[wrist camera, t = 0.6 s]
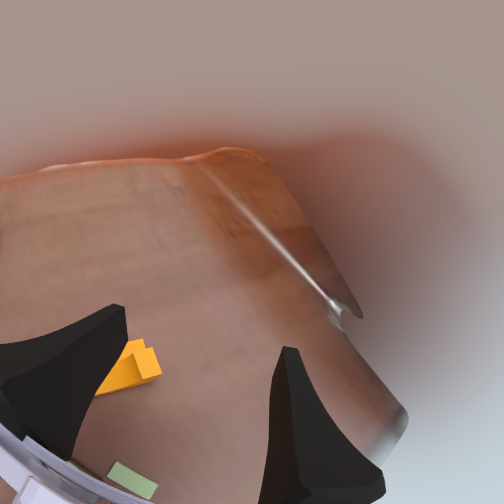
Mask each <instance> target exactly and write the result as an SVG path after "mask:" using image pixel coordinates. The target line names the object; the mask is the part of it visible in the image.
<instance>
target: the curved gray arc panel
mask: <svg viewBox="0 0 504 504" xmlns="http://www.w3.org/2000/svg"><path fill="white" fill-rule="evenodd" d="M66 462H67V463H68V464H70V465H72V466H73V467H75V468H77V469H78V470H80V471H82V472H84V473H86V474H88V475H89V476H91V477H93V478H95V479H97V480H99V481H101V482H104V481H103V480H102V479H100V478H99V477H97V476H96V475H94V474H92V473H91V472H90V471H88V470H87V469H85V468H84V467H82V466H81V465H79V464H78V463H77V462H75V461H74V460H73V459H71V460H70V461H66ZM47 468H48V470H49V471H50V472H52V473H53V474H54V475H56V476H57V477H59V478H60V479H62V480H63V481H64V482H65V483H66V484H67V485H68V486H70V487H71V488H73V489H74V490H75V491H77V492H78V493H80V495H81V496H80V498H79V501H81V502H83V503H85V504H95V503H96V502H97V500H98V499H99V497H98V496H96V495H94V494H92V493H90V492H88V491H86V490H85V489H83V488H81V487H79V486H77V485H76V484H74V483H72V482H71V481H69V480H67V479H66V478H64V477H62V476H61V475H59V474H58V473H56V472H55V471H53V470H52V469H50V468H49V467H47Z"/></svg>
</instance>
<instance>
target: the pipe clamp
mask: <svg viewBox="0 0 504 504" xmlns="http://www.w3.org/2000/svg"><path fill="white" fill-rule="evenodd" d="M161 374H162V371H161V369H160V366H159V364H158V361H157V359H156V356H155V353H154V351H153V348H152V347H151V348H147V349H146V347H145V345H144V342H143V339H138V340H134V341H130V342H127V344H126V346H125V348H124V350H123V352H122V354H121V356H120V358H119V359H118V361H117V362H116V364H115V365H114V367H113V368H112V370H111V371H110V372H109V374H108V375H107V377H106V378H105V380H104V381H103V383H102V384H101V386H100V387H99V389H98V390H97V392H96V394H95V395H94V396H99V395H103V394H107V393H111V392H115V391H119V390H123V389H126V388H130V387H134V386H137V385H141V384H144V383H148V382H151V381H153V380H155V379H156V378H157V377H159V376H160V375H161Z"/></svg>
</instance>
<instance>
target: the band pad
mask: <svg viewBox="0 0 504 504" xmlns="http://www.w3.org/2000/svg"><path fill="white" fill-rule="evenodd" d="M107 477H108V478H110V479H111V480H113V481H115V482H116V483H118V484H120V485H122V486H123V487H125V488H127V489H129V490H131V491H132V492H134V493H136V494H138V495H140V496H142V497H144V498H146V499H148V500H149V499H150V498H151V496H152V495H153V493H154V491H155V490H156V488H157V487H158V484H157V483H155V482H153V481H151V480H149V479H147V478H146V477H144V476H142V475H140V474H138V473H136V472H135V471H133V470H131V469H130V468H128V467H126V466H125V465H123V464H121V463H120V462H118V461H116V462H115V464H114V465H113V467H112V469H111V470H110V472H109V473H108V475H107Z"/></svg>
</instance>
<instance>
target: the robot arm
mask: <svg viewBox="0 0 504 504" xmlns="http://www.w3.org/2000/svg"><path fill="white" fill-rule="evenodd" d="M127 342H128V334H127V326H126V317H125V307H123V306H120V305H117V304H111V305H109V306H107V307H105V308H103V309H101V310H99V311H97V312H95V313H93V314H91V315H89V316H87V317H85V318H83V319H81V320H79V321H77V322H75V323H73V324H71V325H69V326H66V327H64V328H62V329H60V330H57V331H55V332H52V333H49V334H47V335H44V336H41V337H37V338H33V339H29V340H25V341H21V342H15V343H8V344H0V476H1V477H2V478H3V479H4V480H5V481H6V482H7V483H8V484H9V485H10V486H12V487H13V488H14V489H15V490H16V491H17V494H16V496H15V498H14V500H13V502H12V504H85V503H83V502H81V501H79V498H80V496H81V495H80V493H78V492H77V491H75V490H74V489H73V488H71V487H70V486H68V485H67V484H66V483H65V482H64V481H63V480H62V479H60V478H59V477H57V476H56V475H54V474H53V473H52V472H50V471H49V470H48V468H47V467H49V468H50V469H52V470H53V471H55V472H56V473H58V474H59V475H61V476H62V477H64V478H66V479H67V480H69V481H71V482H72V483H74V484H76V485H77V486H79V487H81V488H83V489H85V490H86V491H88V492H90V493H92V494H94V495H96V496H98V497H100V498H102V499H104V500H106V501H108V502H110V503H113V504H154V503H151V502H149V501H146V500H143V499H140V498H138V497H135V496H133V495H130V494H128V493H125V492H123V491H121V490H118V489H116V488H114V487H112V486H110V485H107V484H105V483H103V482H101V481H99V480H97V479H95V478H93V477H91V476H89V475H88V474H86V473H84V472H82V471H80V470H78V469H77V468H75V467H73V466H72V465H70V464H68V463H67V462H66V461H70V460H71V456H72V452H73V448H74V445H75V441H76V438H77V435H78V432H79V429H80V427H81V424H82V422H83V419H84V417H85V414H86V412H87V410H88V408H89V406H90V404H91V401H92V399H93V397H94V395H95V394H96V392H97V390H98V389H99V387H100V386H101V384H102V383H103V381H104V380H105V378H106V377H107V375H108V374H109V372H110V371H111V370H112V368H113V367H114V365H115V364H116V362H117V361H118V359H119V358H120V356H121V354H122V352H123V350H124V348H125V346H126V344H127ZM385 493H386V488H385V480H384V477H383V473H382V470H380V469H379V468H378V467H377V466H375V465H374V464H373V463H372V462H370V461H369V460H368V459H367V458H366V457H365V456H363V455H362V454H361V453H360V452H359V451H358V450H357V449H356V448H355V447H354V446H353V445H352V443H351V442H350V441H349V440H348V439H347V438H346V437H345V435H344V434H343V433H342V432H341V431H340V429H339V428H338V427H337V425H336V424H335V423H334V421H333V420H332V418H331V417H330V415H329V414H328V412H327V411H326V409H325V407H324V406H323V404H322V402H321V400H320V399H319V397H318V395H317V393H316V391H315V389H314V387H313V385H312V383H311V381H310V379H309V376H308V374H307V372H306V369H305V367H304V364H303V361H302V359H301V356H300V353H299V350H298V349H297V348H292V347H286V346H283V348H282V351H281V354H280V357H279V360H278V363H277V365H276V368H275V371H274V374H273V377H272V384H271V391H270V403H269V441H268V451H267V458H266V464H265V470H264V476H263V482H262V487H261V492H260V497H259V501H258V504H371V503H373V502H374V501H376V500H378V499H380V498H381V497H382V496H383V495H384V494H385Z"/></svg>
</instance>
